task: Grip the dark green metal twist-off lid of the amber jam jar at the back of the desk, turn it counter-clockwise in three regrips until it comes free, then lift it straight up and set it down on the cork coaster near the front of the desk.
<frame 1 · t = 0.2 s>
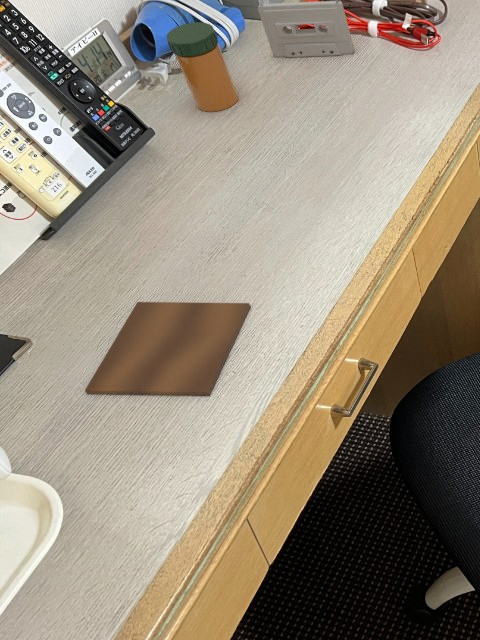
lid: (191, 35, 107), point 10 cm above the table, screwed on, not yet turned
jar: (217, 100, 114), on the table
cassette: (314, 55, 123), on the table
coaster: (172, 348, 82), on the table
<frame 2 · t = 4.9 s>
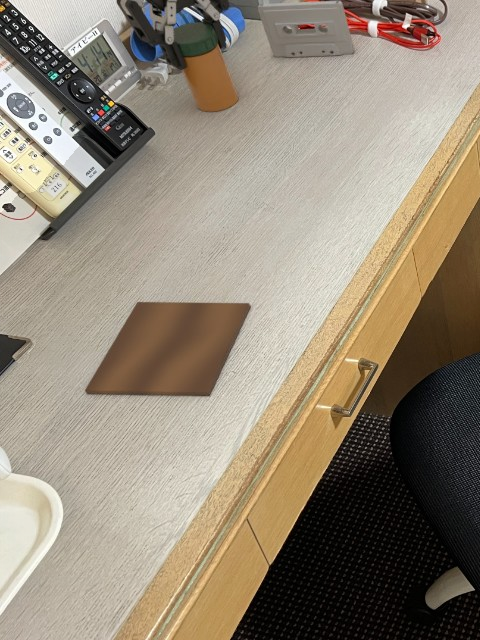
hand: (200, 56, 109), 7 cm above the table, tool pointing down, fingers closed on lid, 5 cm apart
lid: (191, 35, 107), point 10 cm above the table, screwed on, not yet turned, touching gripper
everything else where it was.
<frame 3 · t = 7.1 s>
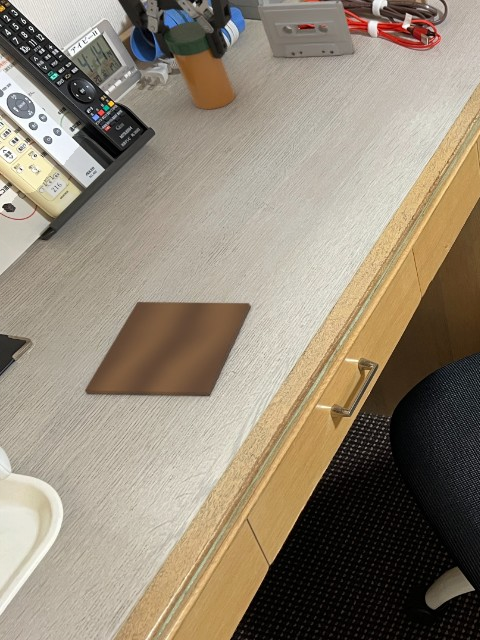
hand: (196, 55, 109), 7 cm above the table, tool pointing down, fingers closed on lid, 6 cm apart
lid: (188, 34, 107), point 10 cm above the table, off its thread, touching gripper, jar
jar: (214, 98, 114), on the table, touching gripper, lid
everything else where it was.
when the fingers open (7 cm above the table, at t = 7.6 s): lid stays where it is, point 10 cm above the table.
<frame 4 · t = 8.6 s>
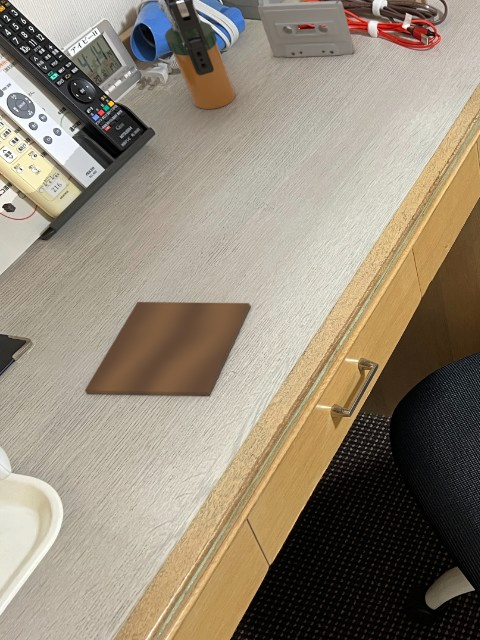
hand: (197, 58, 109), 7 cm above the table, tool pointing down, fingers open, 8 cm apart
lid: (189, 34, 107), point 10 cm above the table, off its thread
jar: (214, 98, 114), on the table
everything else where it was.
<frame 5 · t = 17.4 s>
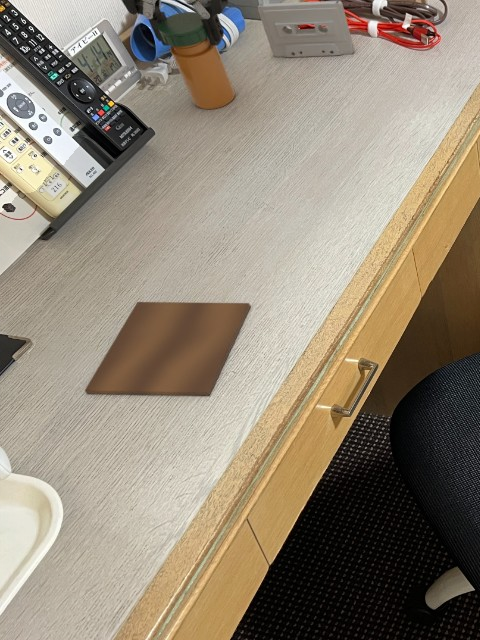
hand: (192, 42, 108), 9 cm above the table, tool pointing down, fingers closed on lid, 5 cm apart
lid: (183, 25, 105), point 11 cm above the table, off its thread, touching gripper
everything else where it was.
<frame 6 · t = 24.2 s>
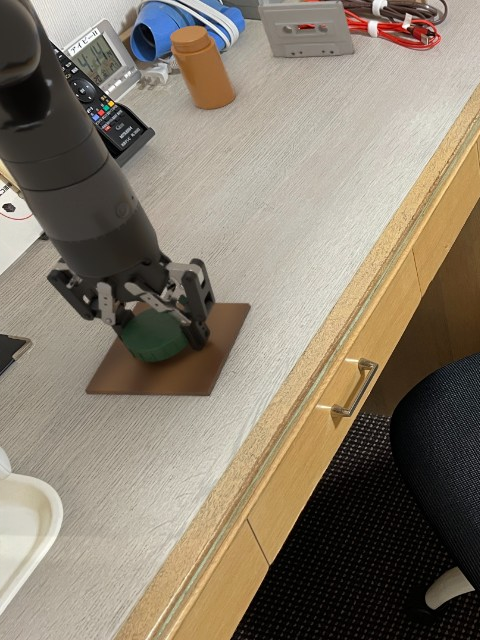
hand: (169, 343, 82), 1 cm above the table, tool pointing down, fingers closed on lid, 5 cm apart
lid: (155, 329, 79), point 3 cm above the table, off its thread, touching gripper
jar: (215, 98, 114), on the table
everything else where it was.
when the fingers open (1 cm above the table, at t = 31.3 s): lid drops 2 cm, resting on coaster.
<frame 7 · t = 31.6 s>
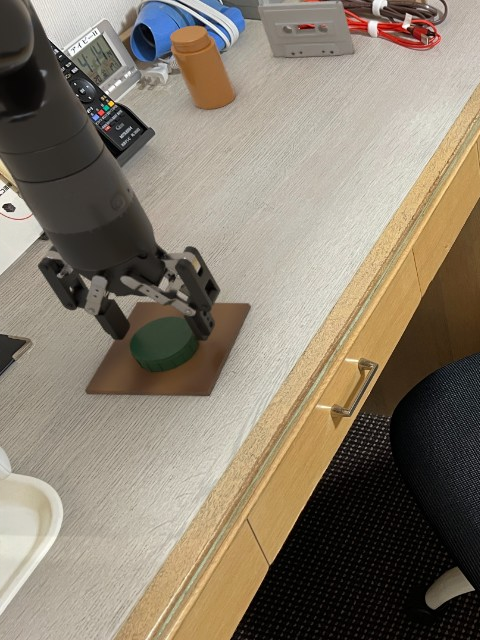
hand: (164, 334, 81), 2 cm above the table, tool pointing down, fingers open, 8 cm apart
lid: (162, 340, 80), point 2 cm above the table, off its thread, touching coaster
everything else where it was.
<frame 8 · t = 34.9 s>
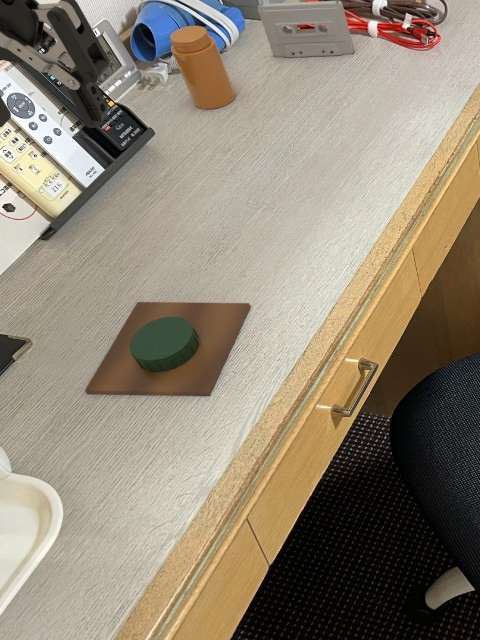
hand: (50, 122, 70), 22 cm above the table, tool pointing down, fingers open, 8 cm apart
nothing on the table moved.
at the end: lid came off its thread; lid inside the target area on the coaster (0.7 cm from its centre), point 1.9 cm above the coaster's base; the gripper is holding nothing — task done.
